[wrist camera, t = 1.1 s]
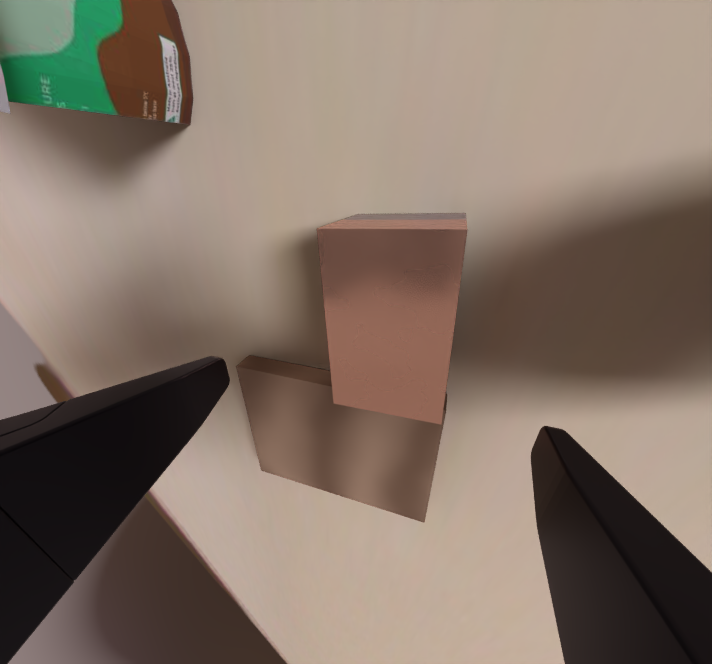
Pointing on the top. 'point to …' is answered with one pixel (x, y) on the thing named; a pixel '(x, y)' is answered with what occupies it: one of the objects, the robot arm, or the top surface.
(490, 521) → the top surface
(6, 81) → the food container
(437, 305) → the block
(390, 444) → the walnut stand
